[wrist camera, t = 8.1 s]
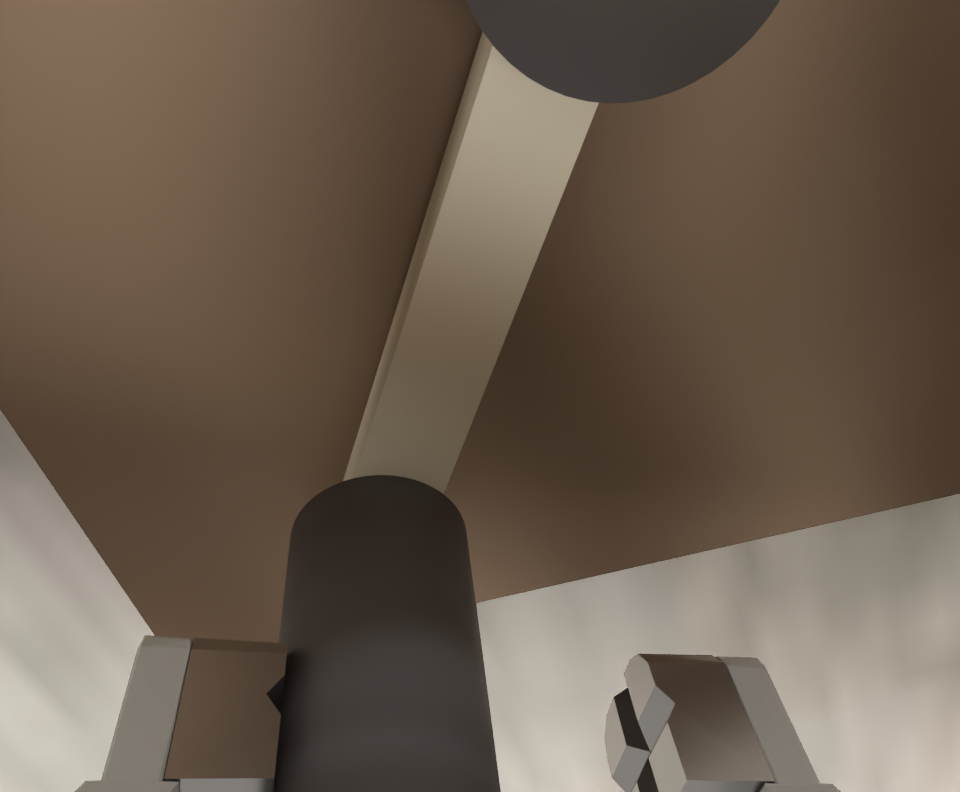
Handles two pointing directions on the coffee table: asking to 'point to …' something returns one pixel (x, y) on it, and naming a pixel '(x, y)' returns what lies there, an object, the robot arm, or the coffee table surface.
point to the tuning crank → (455, 400)
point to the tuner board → (540, 314)
